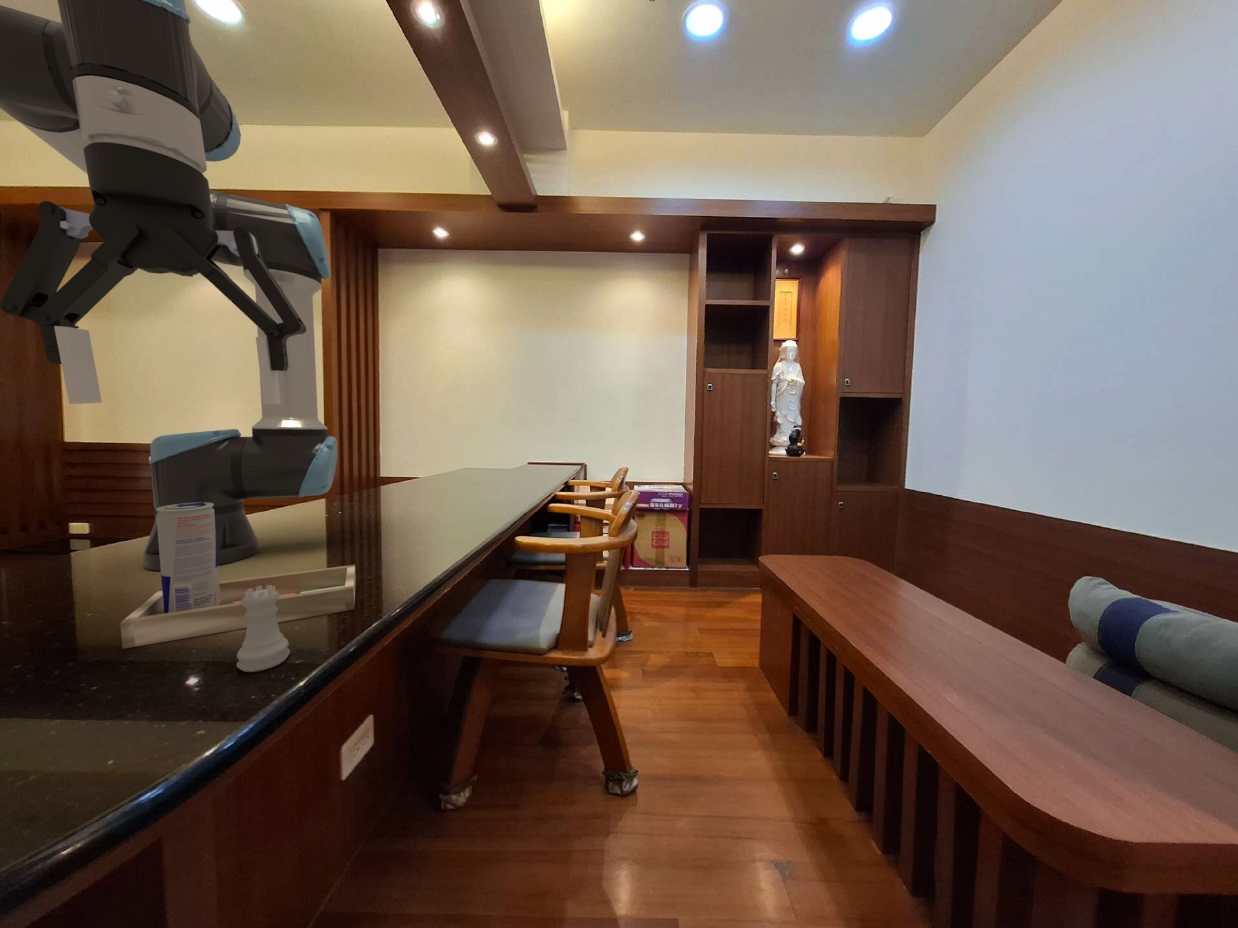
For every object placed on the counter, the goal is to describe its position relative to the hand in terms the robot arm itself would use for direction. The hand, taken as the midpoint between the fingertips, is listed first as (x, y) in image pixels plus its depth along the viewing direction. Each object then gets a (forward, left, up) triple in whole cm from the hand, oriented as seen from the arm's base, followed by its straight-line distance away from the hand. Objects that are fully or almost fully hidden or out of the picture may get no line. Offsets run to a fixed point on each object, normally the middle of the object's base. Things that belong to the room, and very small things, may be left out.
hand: (185, 404), depth 42 cm
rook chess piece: (+1, +5, -27) cm, 28 cm away
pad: (-15, +9, -27) cm, 32 cm away
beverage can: (-15, -5, -27) cm, 32 cm away
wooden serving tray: (-15, +2, -27) cm, 31 cm away
